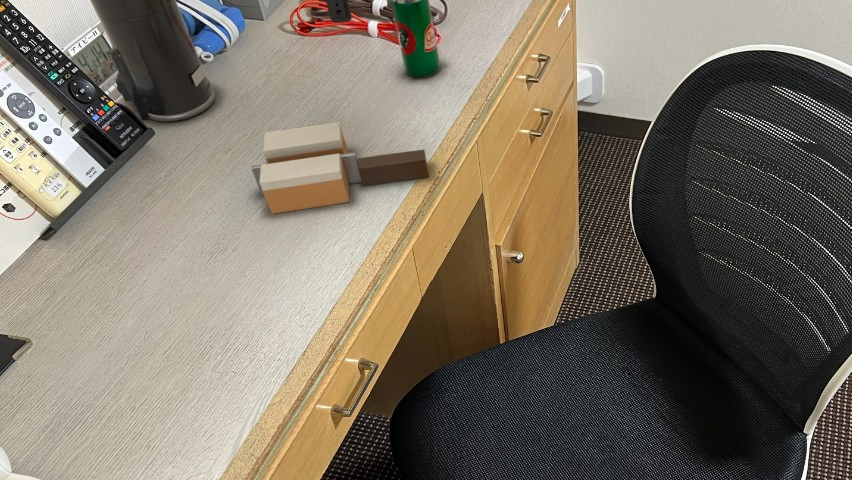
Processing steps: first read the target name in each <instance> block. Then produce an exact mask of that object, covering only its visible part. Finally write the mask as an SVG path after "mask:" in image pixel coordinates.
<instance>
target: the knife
mask: <svg viewBox="0 0 852 480" xmlns="http://www.w3.org/2000/svg"><path fill="white" fill-rule="evenodd" d="M340 157H341V160H342V164H343V167H344V170H345V173H346V177H347V180H348V183H349V185H350V184H357V183H361V184H362V187H366V186H374V185H381V184H387V183H396V182H402V181H410V180H417V179H424V178H430V175H429V164H428V161H427V156H426V152H425V149H417V150H416V149H415V150H410V151H409V150H408V151H402V152H395V153H387V154H378V155H370V156H363V157H357V154H356V152H355V151H354V152H348V153H346V154H340ZM264 164H265V163H263V164H255V165H251V166H250V169H251V172H252V174H253V177H254V179H255V182H256V185H257V187H258V189H259V192H260V195H261V196H264V193H263V190H262V188H261V185H260V172H261V165H264ZM270 164H271V163H270Z"/></svg>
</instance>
